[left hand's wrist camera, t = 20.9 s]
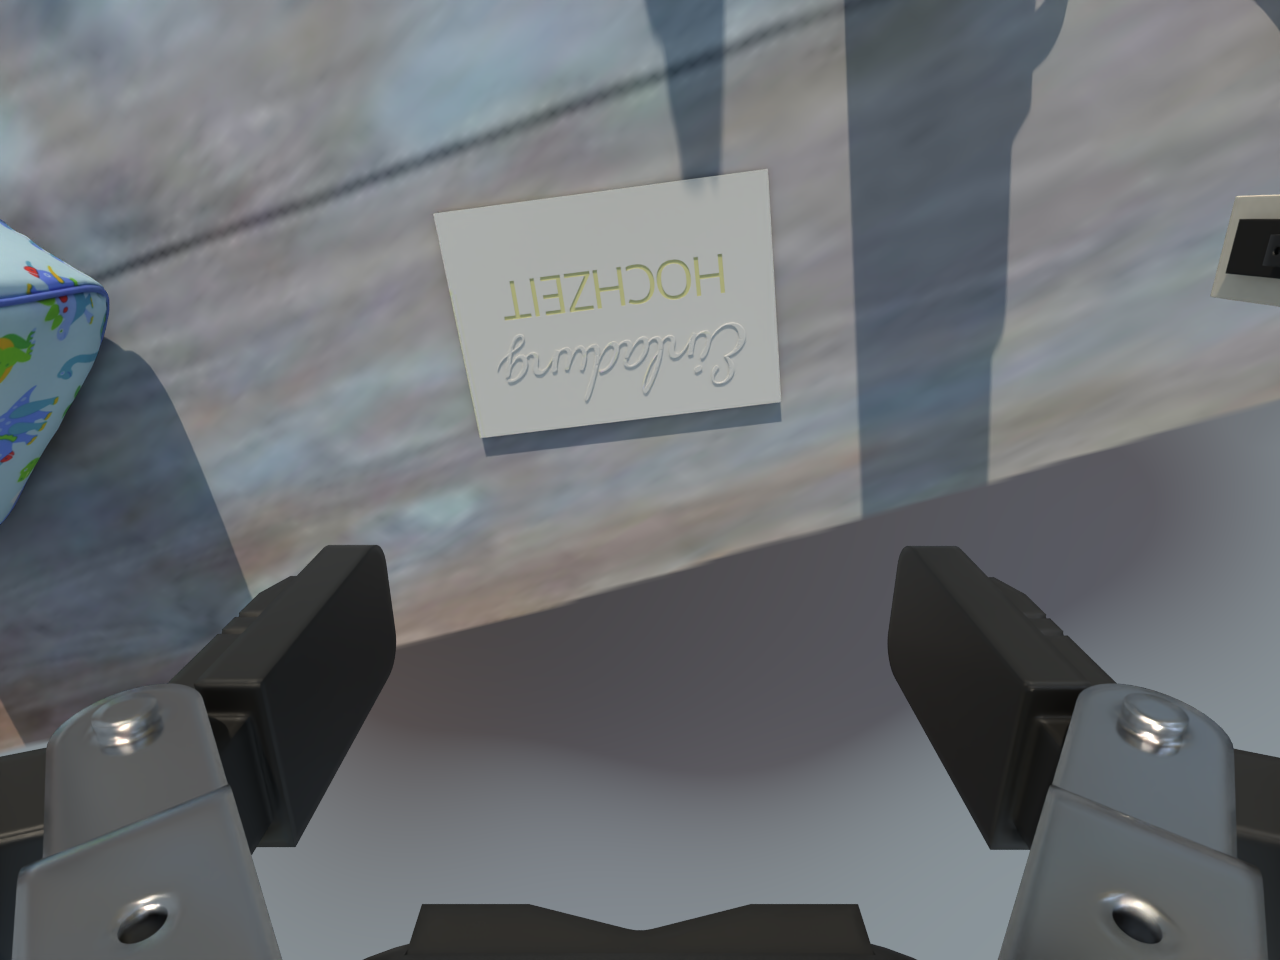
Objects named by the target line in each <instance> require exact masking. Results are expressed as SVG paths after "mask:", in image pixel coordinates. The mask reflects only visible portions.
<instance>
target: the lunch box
mask: <svg viewBox="0 0 1280 960" xmlns="http://www.w3.org/2000/svg"><path fill="white" fill-rule="evenodd" d="M108 315H109V297H108V294H107V292H106V291H105V290H104V288H103V286H102V285H101V284H100V283H98V282H97V281H95V280H94V279H92V278H91V277H89V276H87V275H86V274H84V273H82V272H80V271H79V270H77V269H75V268H73V267H72V266H70V265H69V264H67V263H65V262H64V261H62V260H60V259H59V258H57V257H55V256H54V255H52V254H50V253H48V252H47V251H45V250H44V249H42V248H41V247H39V246H38V245H36V244H35V243H34V242H33V241H31V240H30V239H29V238H28V237H27V236H25V235H23V234H20V233H18V232H16V231H15V230H13V229H12V228H10V227H9V226H8V225H7V224H6V223H5V222H4V221H2V220H1V219H0V524H1V523H2V522H3V521H4V520H5V519H6V518H7V517H8V515H9V514H10V512H11V511H12V509H13V508H14V506H15V505H16V503H17V501H18V499H19V497H20V495H21V493H22V491H23V489H24V487H25V484H26V482H27V480H28V478H29V476H30V474H31V473H32V471H33V469H34V467H35V465H36V464H37V462H38V460H39V459H40V457H41V455H42V453H43V451H44V450H45V448H46V446H47V445H48V443H49V442H50V440H51V439H52V437H53V436H54V434H55V433H56V431H57V430H58V428H59V426H60V424H61V422H62V420H63V418H64V416H65V414H66V412H67V410H68V409H69V407H70V405H71V404H72V402H73V401H74V399H75V397H76V396H77V394H78V392H79V390H80V388H81V386H82V385H83V383H84V381H85V379H86V377H87V375H88V374H89V372H90V370H91V368H92V366H93V364H94V361H95V359H96V357H97V354H98V351H99V348H100V345H101V343H102V340H103V337H104V333H105V329H106V325H107V320H108Z"/></svg>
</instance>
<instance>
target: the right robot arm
mask: <svg viewBox="0 0 1280 960" xmlns="http://www.w3.org/2000/svg"><path fill="white" fill-rule="evenodd" d="M1225 274H1235V275H1246V276H1256V277H1266V278H1276V279H1280V219H1239V223H1238V227H1237V231H1236V234H1235V238H1234V242H1233V246H1232V250H1231V254H1230V257H1229V261H1228V265H1227V269H1226V273H1225Z"/></svg>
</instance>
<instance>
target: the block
mask: <svg viewBox="0 0 1280 960" xmlns="http://www.w3.org/2000/svg"><path fill="white" fill-rule="evenodd" d="M1239 219H1280V195H1256V196H1237V197H1236V198H1235V201H1234V205H1233V209H1232V213H1231V217H1230V221H1229V225H1228V229H1227V233H1226V237H1225V241H1224V245H1223V249H1222V252H1221V256H1220V260H1219V264H1218V268H1217V272H1216V276H1215V280H1214V284H1213V288H1212V292H1211V297H1215V298H1222V299H1229V300H1237V301H1244V302H1251V303H1258V304H1265V305H1272V306H1279V307H1280V279H1276V278H1266V277H1256V276H1246V275H1235V274H1225V273H1226V269H1227V265H1228V261H1229V257H1230V254H1231V250H1232V246H1233V242H1234V238H1235V234H1236V231H1237V227H1238V223H1239Z"/></svg>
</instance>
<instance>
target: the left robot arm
mask: <svg viewBox="0 0 1280 960" xmlns="http://www.w3.org/2000/svg"><path fill="white" fill-rule="evenodd" d="M395 652H396V632H395V625H394V617H393V610H392V602H391V595H390V588H389V580H388V573H387V566H386V560H385V556H384V553H383V550H382V549H381V547H380V546H378V545H328V546H326V547H324V548H323V549H322V550H321V551H320V552H319V553H318V554H317V555H316V557H315V558H314V559H313V560H312V561H311V562H310V563H309V564H308V565H307V566H306V567H305V568H304V569H303V570H302V571H301V572H300V573H299V574H298V575H297V576H290V577H288V578H286V579H284V580H282V581H281V582H279V583H277V584H275V585H273V586H272V587H270V588H268V589H266V590H264V591H262V592H261V593H259V594H258V595H257V596H256V597H255V598H254V599H253V600H252V601H251V602H250V603H249V604H248V605H247V606H246V607H245V608H244V609H243V610H242V611H241V612H240V613H239V617H235V618H234V619H233V620H232V621H231V622H230V623H229V624H228V625H227V626H225V627H224V628H223V629H222V634H217V635H216V636H215V637H214V638H213V639H212V640H211V641H210V642H209V643H208V644H207V645H206V646H205V647H204V648H203V649H202V650H201V651H200V652H199V653H198V654H197V655H196V656H195V657H194V658H193V659H192V660H191V661H190V662H189V663H188V664H187V665H186V666H185V667H184V668H183V669H182V670H181V671H180V672H179V673H178V674H177V675H176V676H175V677H174V678H173V679H172V680H171V681H170V682H169V683H168V684H155V685H147V686H142V687H137V688H134V689H130V690H126V691H123V692H120V693H117V694H114V695H112V696H109V697H107V698H104V699H102V700H100V701H98V702H96V703H94V704H92V705H90V706H88V707H86V708H84V709H83V710H81V711H80V712H78V713H76V714H75V715H74V716H72V717H71V718H69V719H68V720H67V721H66V722H64V723H63V724H62V725H61V726H60V727H59V728H58V729H57V730H56V731H55V733H54V734H53V735H52V736H51V738H50V740H49V742H48V744H47V748H42V749H38V750H32V751H27V752H22V753H17V754H12V755H7V756H2V757H0V960H282V957H281V954H280V951H279V947H278V944H277V941H276V937H275V934H274V930H273V927H272V924H271V920H270V917H269V914H268V910H267V907H266V904H265V900H264V897H263V894H262V890H261V887H260V883H259V880H258V877H257V873H256V870H255V867H254V863H253V860H252V856H251V855H252V854H253V852H254V850H255V849H256V847H296V845H297V843H298V841H299V840H300V838H301V836H302V834H303V832H304V830H305V829H306V827H307V825H308V823H309V821H310V819H311V818H312V816H313V814H314V812H315V810H316V809H317V807H318V805H319V803H320V801H321V799H322V798H323V796H324V794H325V792H326V790H327V788H328V787H329V785H330V783H331V781H332V779H333V778H334V776H335V774H336V772H337V770H338V768H339V767H340V765H341V763H342V761H343V759H344V757H345V756H346V754H347V752H348V750H349V748H350V747H351V745H352V743H353V741H354V739H355V737H356V736H357V734H358V732H359V730H360V728H361V726H362V725H363V723H364V721H365V719H366V717H367V715H368V714H369V712H370V710H371V708H372V706H373V705H374V703H375V701H376V699H377V697H378V695H379V694H380V692H381V690H382V688H383V686H384V685H385V683H386V681H387V679H388V677H389V675H390V673H391V670H392V667H393V664H394V659H395ZM888 655H889V661H890V666H891V669H892V672H893V675H894V677H895V679H896V681H897V682H898V684H899V686H900V688H901V690H902V691H903V693H904V695H905V697H906V699H907V701H908V702H909V704H910V706H911V708H912V710H913V711H914V713H915V715H916V717H917V719H918V720H919V722H920V724H921V726H922V727H923V729H924V731H925V733H926V735H927V737H928V738H929V740H930V742H931V744H932V746H933V747H934V749H935V751H936V753H937V755H938V756H939V758H940V760H941V762H942V764H943V765H944V767H945V769H946V771H947V773H948V774H949V776H950V778H951V780H952V782H953V783H954V785H955V787H956V789H957V791H958V792H959V794H960V796H961V798H962V800H963V801H964V803H965V805H966V807H967V809H968V810H969V812H970V814H971V816H972V818H973V819H974V821H975V823H976V825H977V827H978V828H979V830H980V832H981V834H982V836H983V837H984V839H985V841H986V843H987V845H988V846H989V848H990V849H991V850H1030V853H1029V857H1028V860H1027V863H1026V866H1025V870H1024V873H1023V877H1022V880H1021V883H1020V887H1019V890H1018V893H1017V897H1016V900H1015V904H1014V907H1013V910H1012V914H1011V917H1010V920H1009V924H1008V927H1007V931H1006V934H1005V937H1004V941H1003V944H1002V947H1001V951H1000V954H999V958H998V960H1280V758H1278V757H1273V756H1268V755H1263V754H1258V753H1253V752H1248V751H1243V750H1237V749H1233V744H1232V742H1231V740H1230V738H1229V736H1228V735H1227V734H1226V733H1225V732H1224V730H1223V729H1222V728H1221V727H1220V726H1219V725H1218V724H1217V723H1215V722H1214V721H1213V720H1212V719H1211V718H1209V717H1208V716H1206V715H1205V714H1204V713H1202V712H1200V711H1199V710H1197V709H1196V708H1194V707H1192V706H1190V705H1188V704H1186V703H1184V702H1182V701H1180V700H1178V699H1175V698H1173V697H1171V696H1168V695H1166V694H1163V693H1160V692H1157V691H1154V690H1150V689H1146V688H1142V687H1137V686H1133V685H1125V684H1117V683H1116V682H1115V681H1114V680H1113V679H1112V678H1111V677H1110V676H1109V675H1107V674H1106V673H1105V672H1104V671H1103V670H1102V669H1101V668H1100V667H1099V666H1098V665H1097V664H1096V663H1095V662H1094V661H1093V660H1092V659H1091V658H1090V657H1089V656H1088V655H1087V654H1086V653H1085V652H1084V651H1083V650H1082V649H1081V648H1080V647H1079V646H1078V645H1077V644H1076V643H1075V642H1074V641H1073V640H1072V639H1071V638H1070V637H1068V636H1064V635H1063V631H1062V630H1061V629H1060V628H1059V627H1058V626H1057V625H1056V624H1055V623H1054V622H1053V621H1052V620H1051V619H1047V618H1046V614H1045V613H1044V612H1043V611H1042V610H1041V609H1040V608H1039V607H1038V606H1037V605H1036V604H1035V603H1034V602H1033V601H1032V600H1031V599H1030V598H1029V597H1028V596H1026V595H1025V594H1024V593H1022V592H1020V591H1018V590H1016V589H1015V588H1013V587H1011V586H1009V585H1007V584H1005V583H1004V582H1002V581H1000V580H998V579H996V578H994V577H987V576H986V575H985V574H984V573H983V572H982V571H981V570H980V569H979V568H978V567H977V565H976V564H975V563H974V562H973V561H972V560H971V559H970V558H969V557H968V556H967V555H966V554H965V553H964V552H963V551H962V550H961V549H960V548H959V547H957V546H906V547H905V548H904V549H903V550H902V552H901V554H900V557H899V560H898V566H897V573H896V581H895V588H894V595H893V603H892V610H891V617H890V624H889V631H888ZM364 960H916V959H914V958H912V957H909V956H906V955H904V954H901V953H898V952H895V951H893V950H890V949H887V948H884V947H881V946H877V945H873V944H870V941H869V938H868V934H867V931H866V928H865V925H864V922H863V919H862V916H861V913H860V909H859V906H858V904H750V905H746V906H742V907H738V908H734V909H730V910H726V911H722V912H718V913H714V914H710V915H706V916H702V917H698V918H694V919H690V920H686V921H682V922H678V923H674V924H670V925H666V926H662V927H659V928H654V929H650V930H631V929H626V928H622V927H618V926H614V925H610V924H606V923H602V922H598V921H594V920H590V919H586V918H582V917H578V916H574V915H570V914H566V913H562V912H558V911H554V910H550V909H546V908H542V907H538V906H534V905H530V904H422V906H421V909H420V913H419V916H418V919H417V922H416V925H415V928H414V931H413V935H412V938H411V941H410V944H407V945H403V946H399V947H396V948H393V949H390V950H387V951H385V952H382V953H379V954H376V955H374V956H371V957H368V958H366V959H364Z"/></svg>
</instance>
